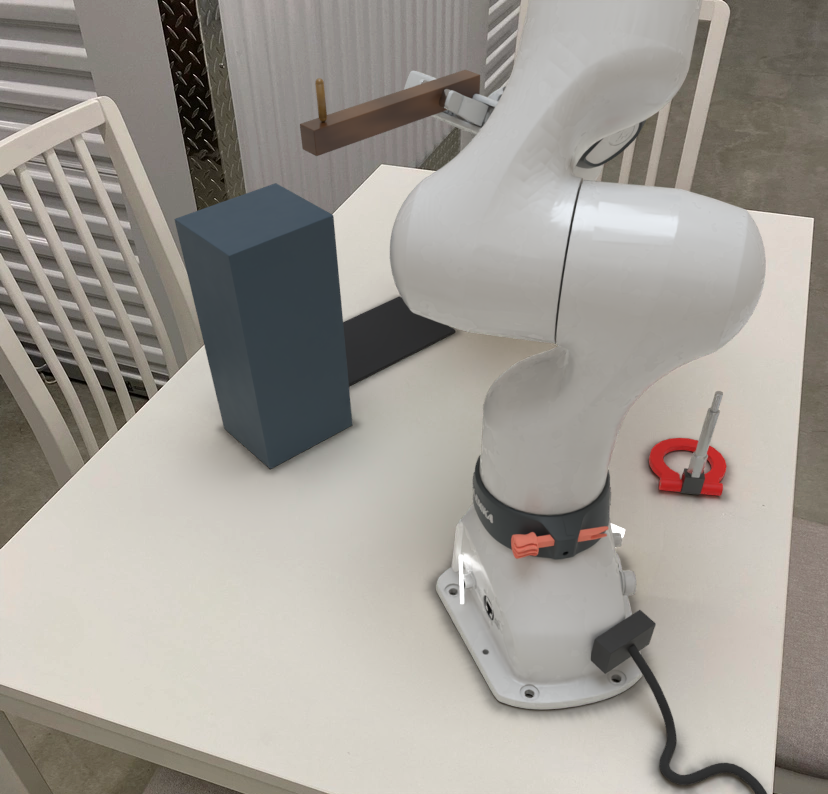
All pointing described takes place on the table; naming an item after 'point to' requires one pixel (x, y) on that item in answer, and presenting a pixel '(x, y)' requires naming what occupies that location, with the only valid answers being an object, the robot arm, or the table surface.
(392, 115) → the hanger bar
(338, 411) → the stand
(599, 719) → the table surface
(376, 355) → the mat
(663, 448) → the tow hook
